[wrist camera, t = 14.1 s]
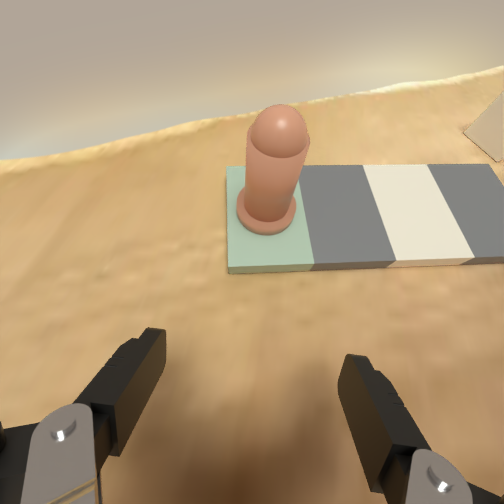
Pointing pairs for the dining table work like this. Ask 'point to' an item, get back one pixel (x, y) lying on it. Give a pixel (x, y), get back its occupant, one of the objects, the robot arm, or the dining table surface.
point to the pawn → (272, 170)
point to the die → (490, 129)
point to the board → (376, 219)
